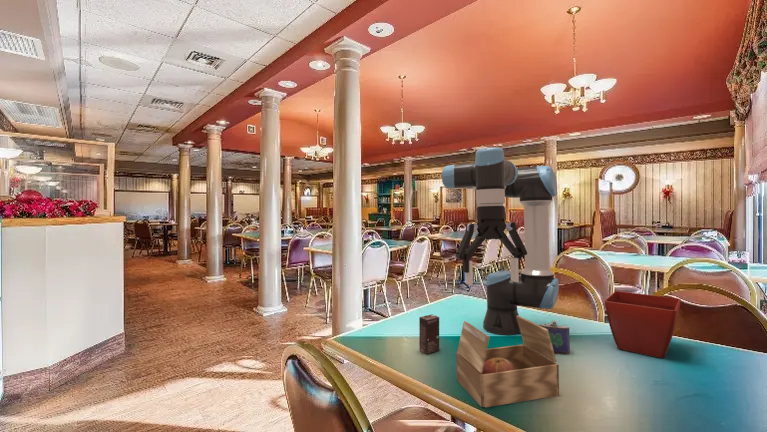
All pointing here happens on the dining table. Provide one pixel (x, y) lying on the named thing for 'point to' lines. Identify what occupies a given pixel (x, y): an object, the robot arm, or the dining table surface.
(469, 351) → the flap
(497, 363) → the apple
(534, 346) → the flap
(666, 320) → the plant pot
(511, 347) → the carton
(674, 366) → the dining table surface
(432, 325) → the box
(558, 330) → the flask
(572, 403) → the dining table surface
